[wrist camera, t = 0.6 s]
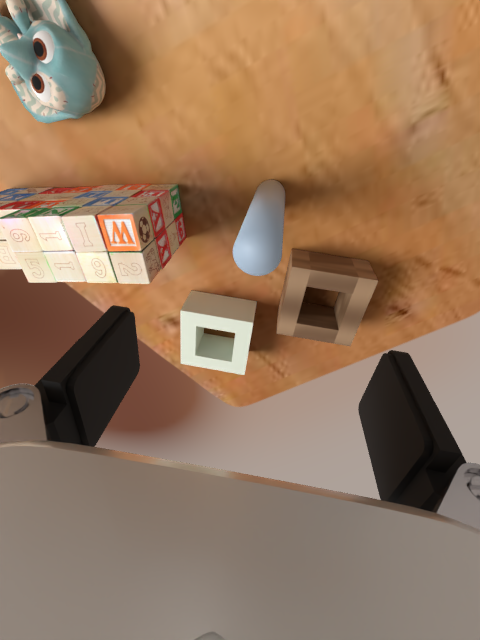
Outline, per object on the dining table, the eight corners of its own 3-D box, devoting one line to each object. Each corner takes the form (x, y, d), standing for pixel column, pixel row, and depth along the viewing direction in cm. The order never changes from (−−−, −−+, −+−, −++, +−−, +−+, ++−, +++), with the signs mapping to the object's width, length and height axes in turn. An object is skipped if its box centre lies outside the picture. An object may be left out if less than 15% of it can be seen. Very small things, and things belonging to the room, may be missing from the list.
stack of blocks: (31, 238, 40) (-55, 282, 30) (8, 187, 36) (-99, 218, 26) (188, 237, 37) (150, 286, 27) (179, 182, 33) (132, 214, 23)
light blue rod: (257, 177, 32) (235, 225, 19) (288, 181, 32) (286, 233, 19) (253, 208, 34) (230, 271, 21) (282, 212, 34) (276, 279, 21)
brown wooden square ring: (291, 248, 36) (291, 266, 32) (368, 260, 35) (378, 280, 31) (277, 311, 41) (276, 333, 37) (344, 322, 41) (350, 346, 37)
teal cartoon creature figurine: (-88, -104, 20) (65, -6, 20) (12, -48, 26) (130, 28, 26) (-67, 80, 26) (50, 156, 26) (10, 92, 32) (106, 153, 32)
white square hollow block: (191, 290, 41) (180, 310, 37) (257, 301, 41) (253, 322, 37) (190, 341, 46) (180, 363, 42) (248, 351, 46) (244, 375, 42)
